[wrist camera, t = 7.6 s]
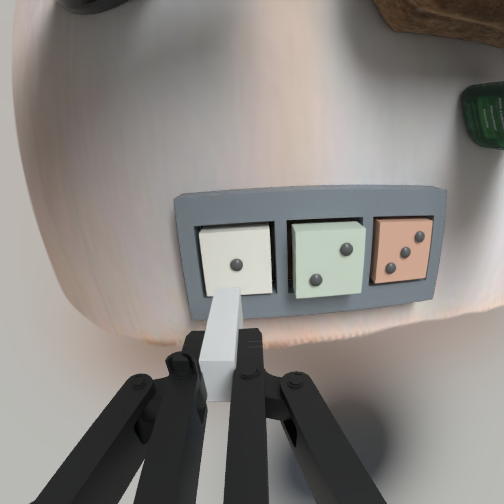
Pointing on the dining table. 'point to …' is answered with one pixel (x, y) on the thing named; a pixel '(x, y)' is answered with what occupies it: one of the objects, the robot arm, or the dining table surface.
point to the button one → (237, 257)
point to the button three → (400, 248)
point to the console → (279, 210)
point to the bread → (447, 18)
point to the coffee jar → (485, 114)
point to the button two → (327, 258)
